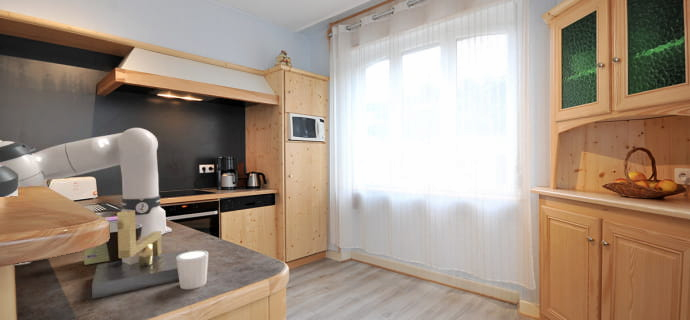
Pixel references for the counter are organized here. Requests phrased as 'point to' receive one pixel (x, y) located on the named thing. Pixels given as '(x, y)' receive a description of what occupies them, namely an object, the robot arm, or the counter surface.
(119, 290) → the dark grey base plate
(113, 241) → the coffee mug
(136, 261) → the cover
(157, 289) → the counter surface
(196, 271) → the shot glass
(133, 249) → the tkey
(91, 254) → the box
